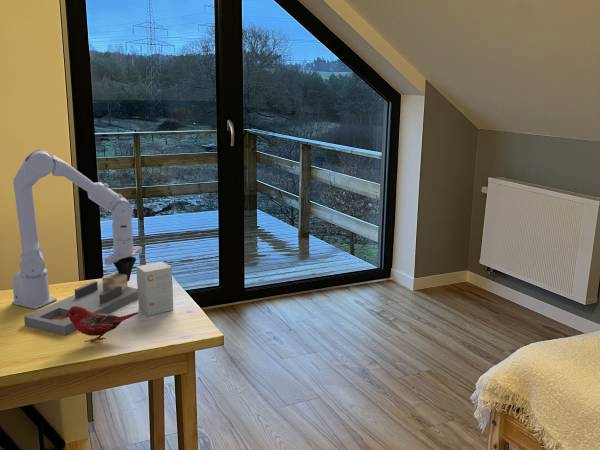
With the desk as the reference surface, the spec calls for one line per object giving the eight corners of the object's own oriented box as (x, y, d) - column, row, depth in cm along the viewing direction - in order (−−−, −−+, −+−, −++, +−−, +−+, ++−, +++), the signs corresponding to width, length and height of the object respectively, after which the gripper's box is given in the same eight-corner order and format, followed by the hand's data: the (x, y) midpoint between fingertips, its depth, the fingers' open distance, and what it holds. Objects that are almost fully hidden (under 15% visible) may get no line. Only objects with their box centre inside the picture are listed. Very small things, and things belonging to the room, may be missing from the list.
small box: (164, 303, 171) (162, 260, 168) (174, 310, 166) (172, 266, 163) (137, 309, 166) (135, 265, 163) (146, 316, 161) (144, 272, 158)
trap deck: (24, 325, 154) (23, 307, 153) (104, 289, 181) (103, 274, 180) (65, 335, 149) (63, 317, 148) (141, 297, 175) (140, 281, 174)
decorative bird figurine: (66, 343, 144) (63, 305, 142) (139, 332, 151) (137, 296, 149) (66, 348, 142) (63, 309, 139) (141, 336, 149) (139, 300, 146)
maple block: (102, 289, 174) (102, 277, 173) (114, 284, 178) (113, 272, 177) (116, 292, 172) (115, 279, 171) (127, 287, 176) (126, 274, 175)
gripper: (117, 245, 167) (119, 290, 171) (149, 234, 180) (150, 275, 184) (97, 242, 170) (100, 286, 173) (130, 231, 183) (132, 272, 186)
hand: (125, 281), depth 179 cm, fingers closed
